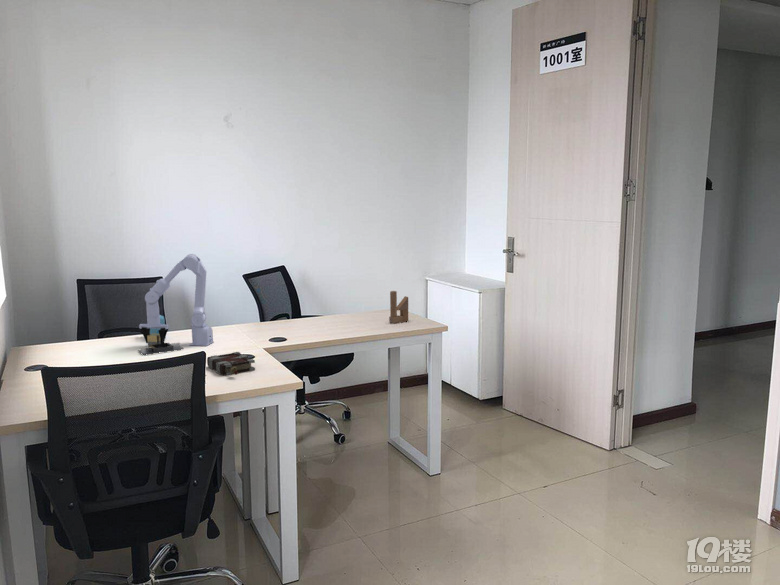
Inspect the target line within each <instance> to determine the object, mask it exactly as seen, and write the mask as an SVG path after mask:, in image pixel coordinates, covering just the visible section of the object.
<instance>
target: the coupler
mask: <svg viewBox="0 0 780 585" xmlns="http://www.w3.org/2000/svg"><path fill="white" fill-rule="evenodd" d="M147 340H148V343H147V347H149V345H153V344H160V343H161V342H160V334H159V333H152V334H150V335H147Z"/></svg>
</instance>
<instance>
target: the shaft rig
mask: <svg viewBox="0 0 780 585" xmlns="http://www.w3.org/2000/svg"><path fill="white" fill-rule="evenodd" d="M181 349H184V347H182V346H181V344H180V342H174V343H170V342H164V343H160V344H153V345H149V347H148V346H147V347H145V348H141V349H138V350H137V352H138V351H139V352H140V354H141V353H142V354H143V355H144V356H147V355H146V354H151V355H154V354H153V353H158V354H160V353H159V352H164V353H168V352H167V351H171V352H175V351H174V350H177V351H182V350H181ZM139 352H138V353H139ZM142 354H141V355H142ZM143 355H142V356H143Z"/></svg>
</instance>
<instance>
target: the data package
mask: <svg viewBox="0 0 780 585" xmlns="http://www.w3.org/2000/svg"><path fill="white" fill-rule="evenodd" d="M165 322H166V321H165V316H164V315H161V314H160V324H166V323H165ZM158 330H160V329H151V328H150V334H152V333H159V331H158ZM166 338H167V335H166V336H165V339H166Z"/></svg>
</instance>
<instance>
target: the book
mask: <svg viewBox="0 0 780 585" xmlns="http://www.w3.org/2000/svg"><path fill="white" fill-rule="evenodd" d="M255 361H256V360H255V359H253V358H250V357H249V356H248V355H246V354H245V353H243V354H242V353H241V352H240V351H233V352H230V353H224V354H219V355H217V354H216V355H214V354H213V355H210V356H207V358H206V364H207V366H208V368H210V369H211V370H212V371H213V370H214V371H215V373H217V374H219V375H221V376H231V375H238V373H245V372H252V371H256V367H254V366H252V364H254V363H256V362H255Z"/></svg>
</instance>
